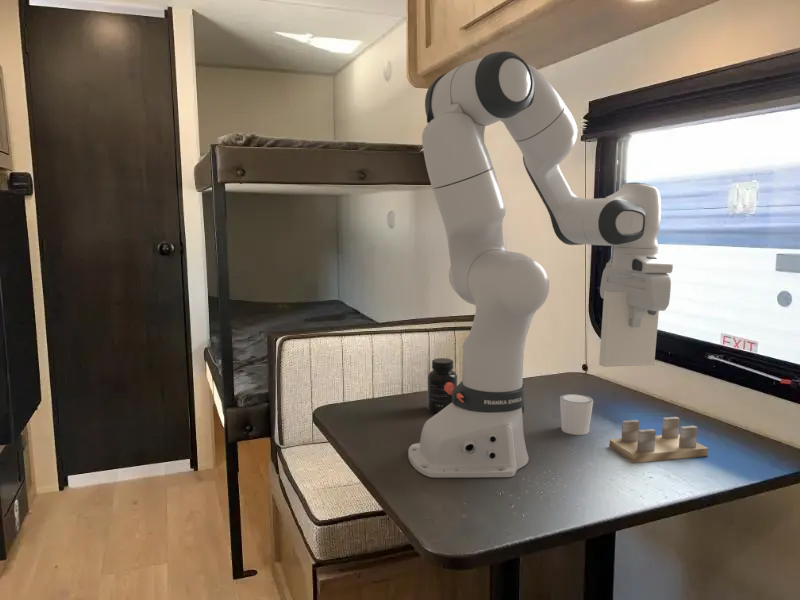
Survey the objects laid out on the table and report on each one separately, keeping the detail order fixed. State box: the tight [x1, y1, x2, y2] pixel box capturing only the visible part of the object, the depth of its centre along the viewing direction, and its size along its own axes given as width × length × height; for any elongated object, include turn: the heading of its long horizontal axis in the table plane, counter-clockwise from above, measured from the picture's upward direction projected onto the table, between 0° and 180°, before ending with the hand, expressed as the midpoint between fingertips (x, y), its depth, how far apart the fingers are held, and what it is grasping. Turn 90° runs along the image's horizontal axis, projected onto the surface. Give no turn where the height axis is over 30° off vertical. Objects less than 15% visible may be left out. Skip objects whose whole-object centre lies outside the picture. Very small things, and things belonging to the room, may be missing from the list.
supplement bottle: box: [427, 357, 458, 415], centre depth 142 cm, size 7×7×12 cm
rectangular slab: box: [598, 291, 660, 368], centre depth 132 cm, size 12×3×16 cm, turn 103°
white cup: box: [559, 393, 594, 436], centre depth 131 cm, size 7×7×7 cm
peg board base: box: [608, 416, 709, 464], centre depth 119 cm, size 16×8×6 cm, turn 103°
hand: (629, 325), depth 133 cm, fingers closed on rectangular slab, 2 cm apart
